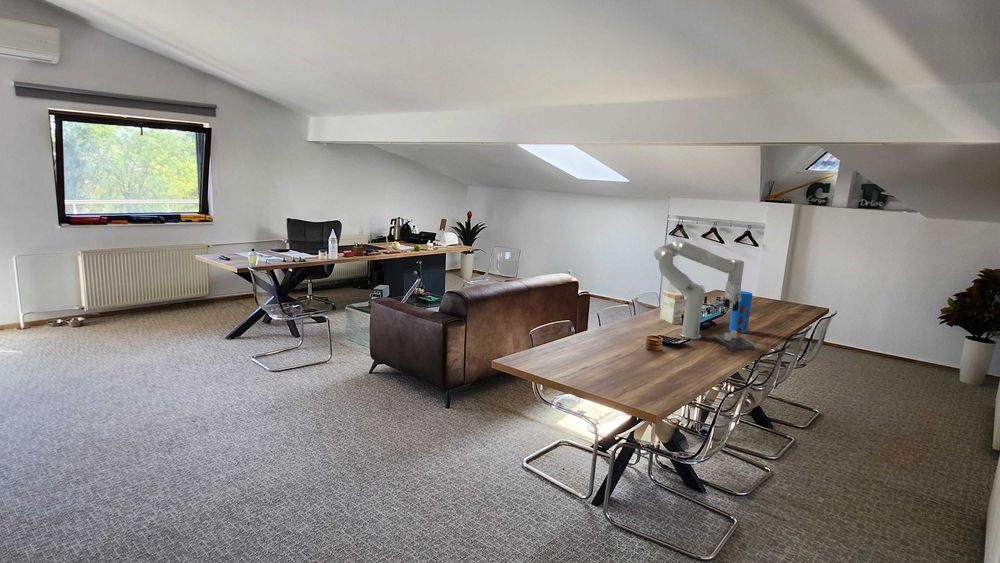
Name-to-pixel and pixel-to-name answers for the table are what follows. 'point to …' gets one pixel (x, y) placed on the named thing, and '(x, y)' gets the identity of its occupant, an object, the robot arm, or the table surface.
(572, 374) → the table surface
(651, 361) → the table surface
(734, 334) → the fader far
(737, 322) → the thermos
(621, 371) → the table surface
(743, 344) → the console
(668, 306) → the coffeecake box
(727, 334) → the fader near
